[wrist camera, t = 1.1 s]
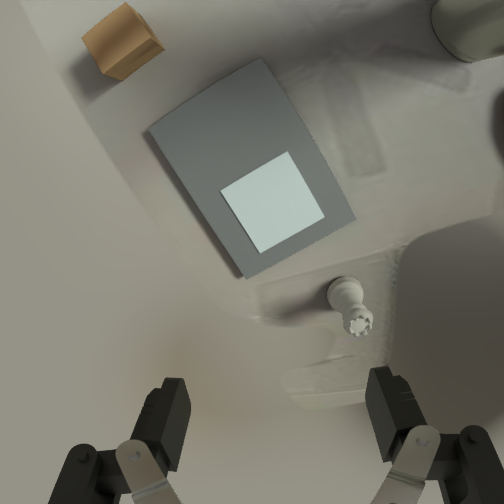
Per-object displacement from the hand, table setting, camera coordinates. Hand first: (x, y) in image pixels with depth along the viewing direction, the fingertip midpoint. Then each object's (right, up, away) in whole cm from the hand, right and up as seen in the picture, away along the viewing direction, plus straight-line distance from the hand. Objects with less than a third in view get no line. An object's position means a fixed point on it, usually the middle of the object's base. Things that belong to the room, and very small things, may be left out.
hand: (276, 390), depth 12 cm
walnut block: (-15, +29, +16) cm, 36 cm away
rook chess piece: (+10, +1, +25) cm, 27 cm away
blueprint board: (-1, +15, +21) cm, 25 cm away
